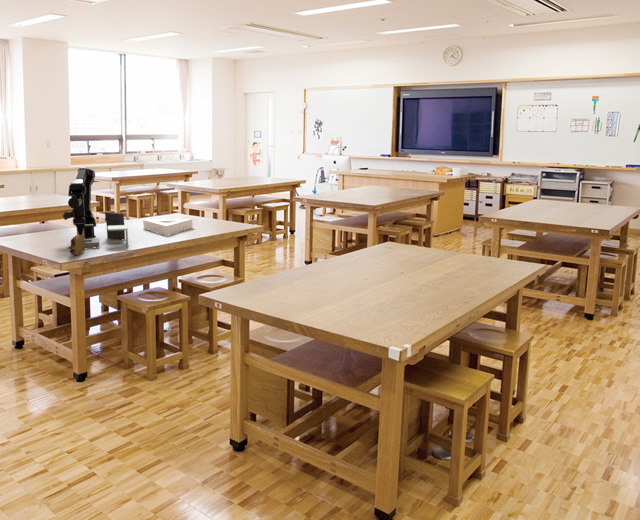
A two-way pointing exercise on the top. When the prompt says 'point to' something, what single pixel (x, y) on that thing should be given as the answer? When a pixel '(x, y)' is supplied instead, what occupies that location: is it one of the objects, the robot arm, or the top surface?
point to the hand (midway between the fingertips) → (80, 233)
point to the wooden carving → (77, 245)
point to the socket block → (91, 243)
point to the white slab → (167, 225)
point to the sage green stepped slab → (119, 227)
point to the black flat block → (113, 220)
